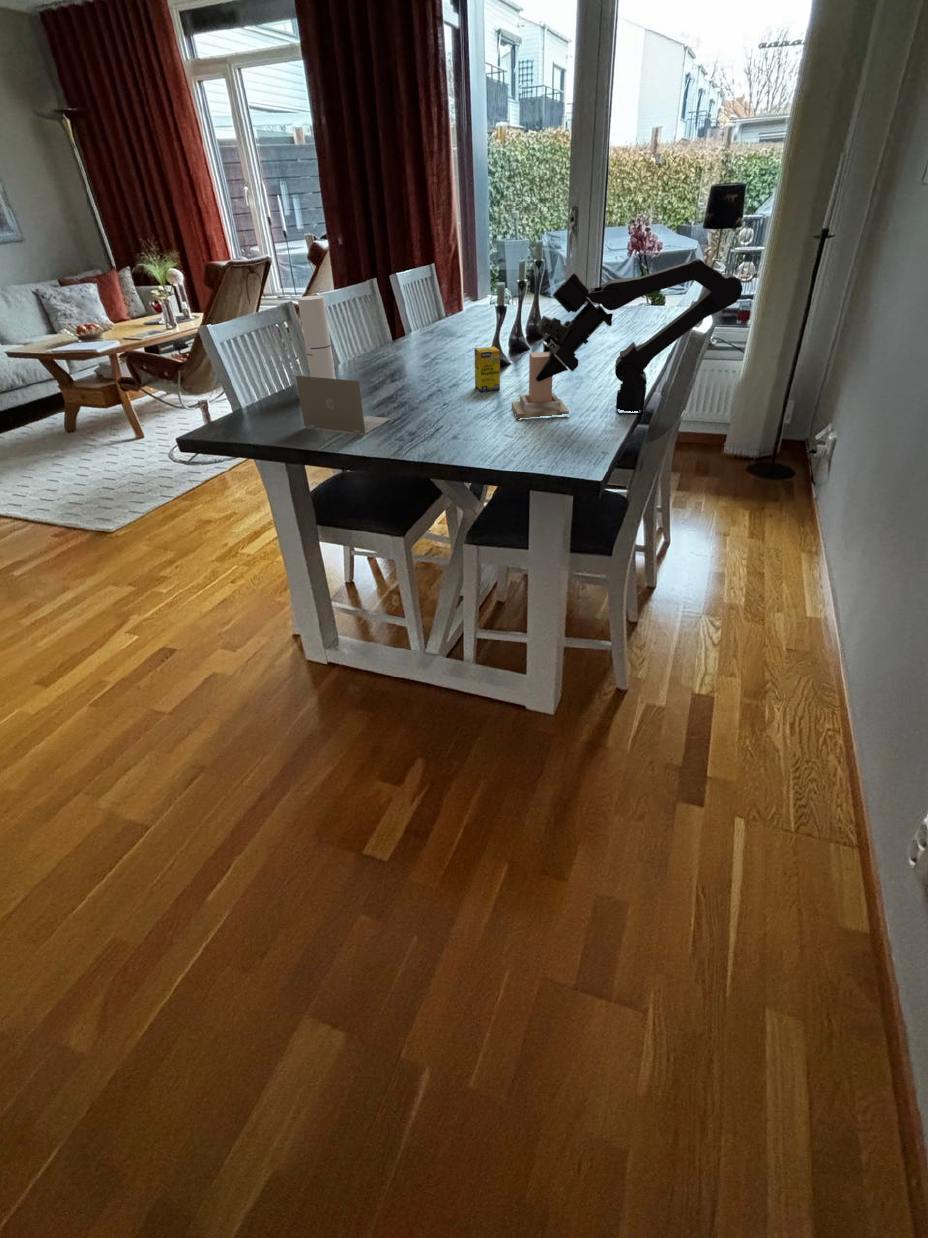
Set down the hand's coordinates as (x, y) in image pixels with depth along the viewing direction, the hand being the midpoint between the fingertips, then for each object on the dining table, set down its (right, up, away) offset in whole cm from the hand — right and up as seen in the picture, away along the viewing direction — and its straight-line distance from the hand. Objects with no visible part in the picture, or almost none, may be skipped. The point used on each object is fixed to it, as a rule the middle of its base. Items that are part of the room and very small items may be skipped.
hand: (535, 377), depth 160 cm
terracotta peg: (+2, -5, +4) cm, 7 cm away
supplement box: (-11, +6, +25) cm, 28 cm away
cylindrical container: (-59, +7, +29) cm, 66 cm away
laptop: (-47, -11, +3) cm, 49 cm away
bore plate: (+2, -7, +5) cm, 9 cm away
